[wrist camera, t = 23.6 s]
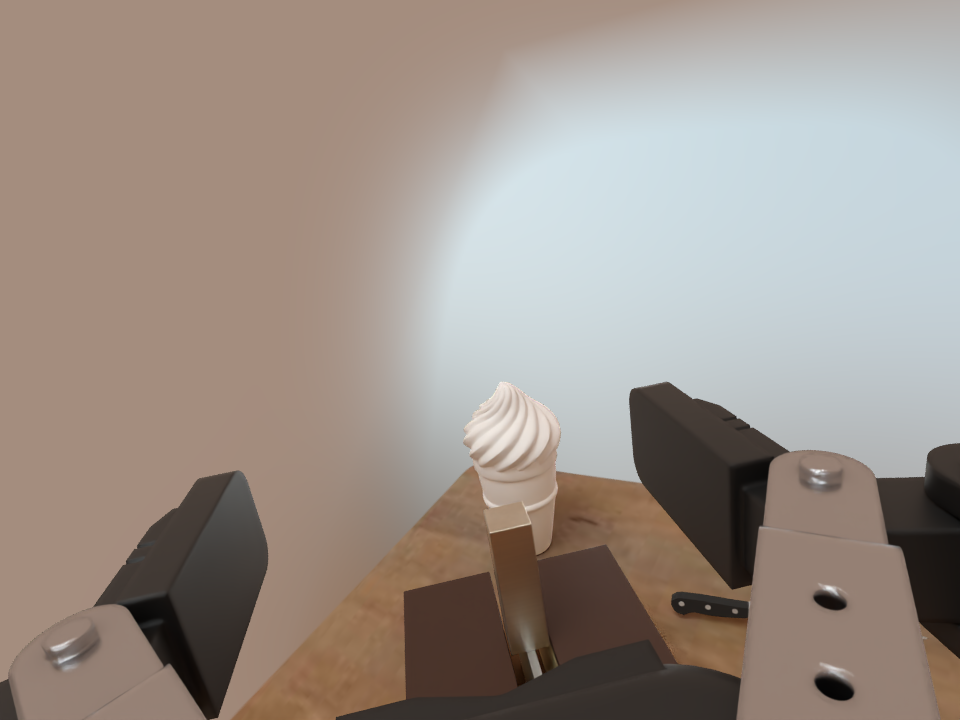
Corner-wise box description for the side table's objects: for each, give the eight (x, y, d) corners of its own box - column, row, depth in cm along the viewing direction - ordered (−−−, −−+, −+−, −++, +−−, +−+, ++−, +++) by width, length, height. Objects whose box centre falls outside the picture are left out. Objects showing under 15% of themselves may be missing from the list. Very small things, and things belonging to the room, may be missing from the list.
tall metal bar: (585, 808, 29) (551, 573, 25) (545, 819, 29) (503, 584, 24) (539, 657, 39) (508, 466, 34) (508, 664, 38) (473, 474, 34)
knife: (924, 654, 34) (927, 629, 34) (927, 663, 34) (930, 637, 33) (673, 611, 41) (671, 589, 40) (672, 618, 40) (670, 596, 39)
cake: (747, 887, 25) (746, 777, 23) (441, 978, 24) (409, 871, 22) (614, 625, 40) (606, 544, 38) (423, 672, 39) (403, 591, 37)
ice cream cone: (481, 523, 55) (452, 371, 50) (564, 509, 55) (544, 355, 50) (486, 581, 47) (453, 407, 42) (584, 564, 47) (563, 388, 42)
